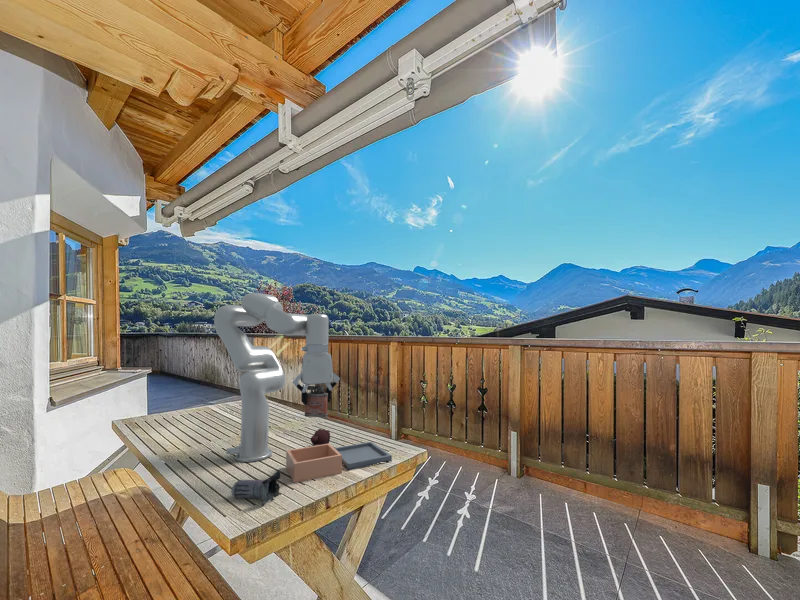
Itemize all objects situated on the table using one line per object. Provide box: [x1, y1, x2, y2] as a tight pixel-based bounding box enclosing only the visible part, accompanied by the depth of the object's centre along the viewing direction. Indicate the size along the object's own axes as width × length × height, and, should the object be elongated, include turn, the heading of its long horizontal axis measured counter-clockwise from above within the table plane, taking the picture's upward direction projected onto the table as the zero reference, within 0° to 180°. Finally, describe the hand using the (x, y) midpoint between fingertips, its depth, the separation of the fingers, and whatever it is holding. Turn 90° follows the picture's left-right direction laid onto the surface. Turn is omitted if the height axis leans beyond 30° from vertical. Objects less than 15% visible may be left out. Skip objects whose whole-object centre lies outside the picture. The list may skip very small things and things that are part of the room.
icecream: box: [310, 428, 331, 446], centre depth 137 cm, size 7×7×15 cm
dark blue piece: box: [230, 470, 282, 507], centre depth 93 cm, size 9×8×12 cm
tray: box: [334, 441, 393, 471], centre depth 124 cm, size 16×18×2 cm
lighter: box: [304, 384, 329, 418], centre depth 115 cm, size 8×3×10 cm, turn 79°
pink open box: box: [285, 442, 343, 484], centre depth 113 cm, size 15×14×6 cm
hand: (316, 402), depth 115 cm, fingers closed on lighter, 7 cm apart
